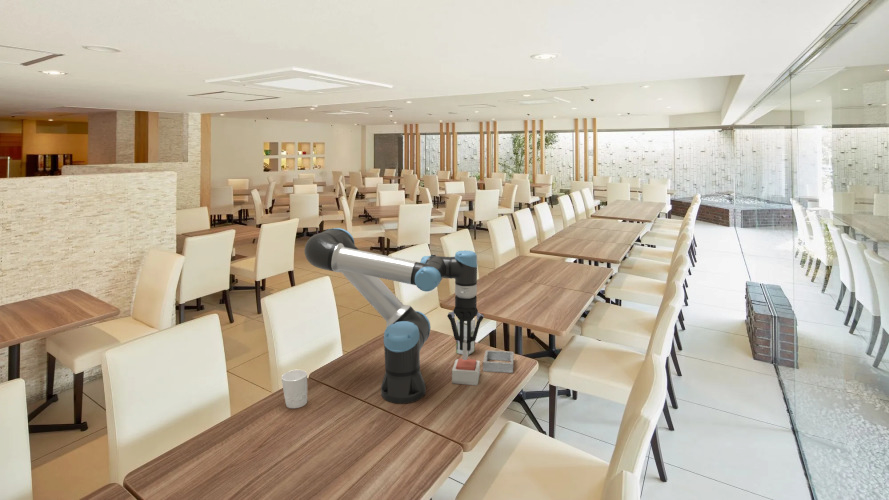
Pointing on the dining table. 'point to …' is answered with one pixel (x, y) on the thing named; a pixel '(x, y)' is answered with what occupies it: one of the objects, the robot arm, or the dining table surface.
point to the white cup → (295, 388)
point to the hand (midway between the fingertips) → (465, 358)
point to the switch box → (466, 375)
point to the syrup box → (465, 336)
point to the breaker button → (466, 364)
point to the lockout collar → (498, 365)
